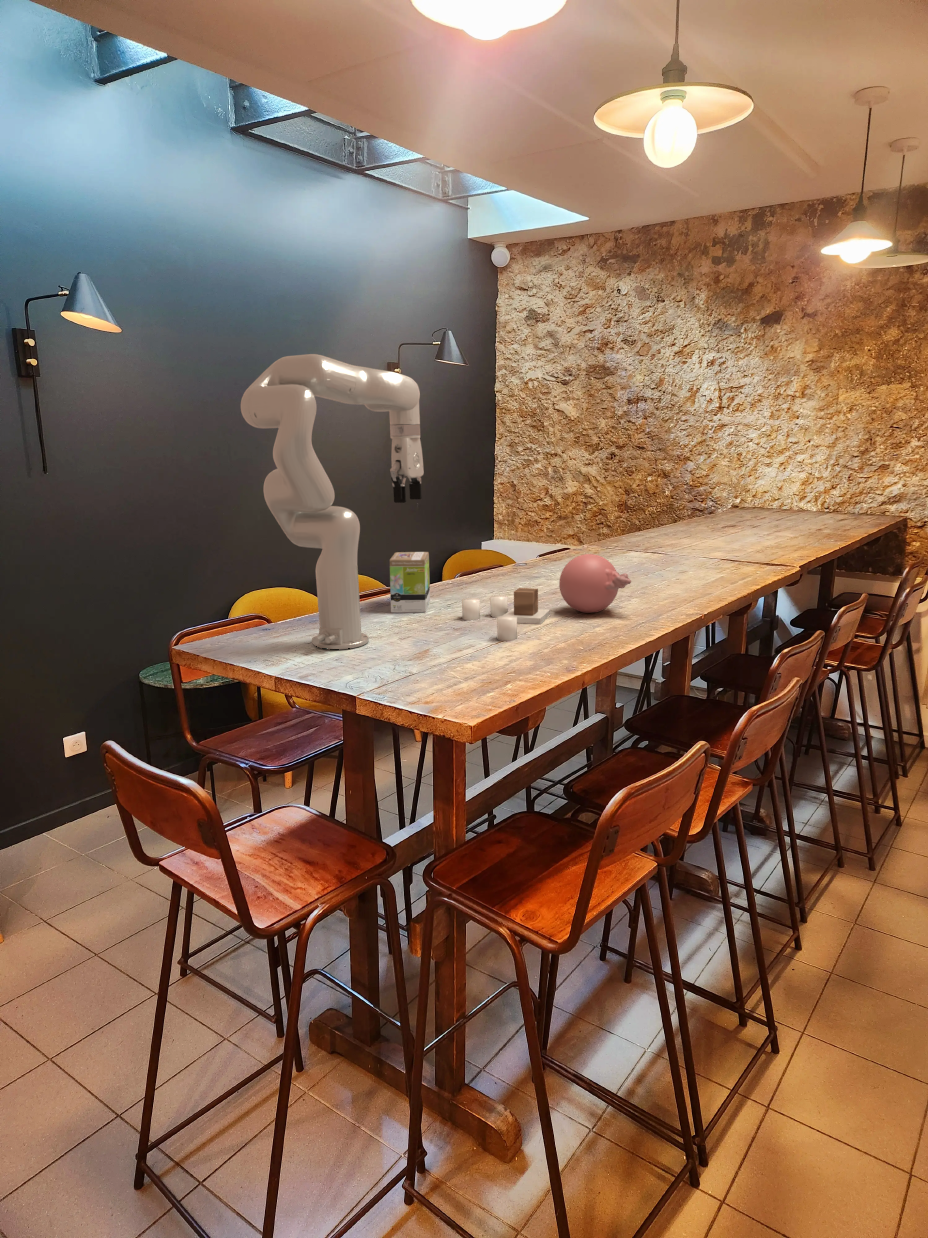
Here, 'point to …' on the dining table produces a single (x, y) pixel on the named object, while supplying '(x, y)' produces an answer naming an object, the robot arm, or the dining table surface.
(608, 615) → the dining table surface
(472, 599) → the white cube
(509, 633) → the cup
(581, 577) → the pink balloon
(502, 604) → the white cylinder
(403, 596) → the tea box
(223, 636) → the dining table surface
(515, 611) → the walnut block
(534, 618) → the stone coaster
